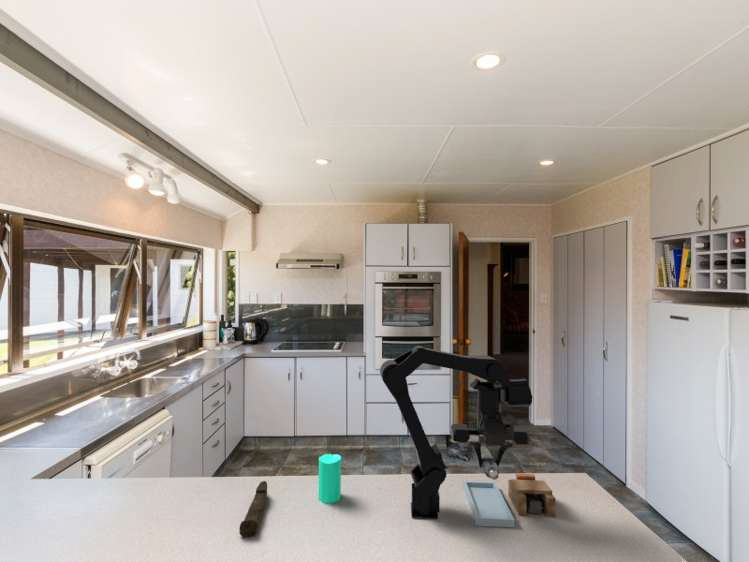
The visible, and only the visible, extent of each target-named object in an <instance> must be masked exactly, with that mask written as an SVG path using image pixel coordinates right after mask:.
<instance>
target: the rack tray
mask: <svg viewBox="0 0 749 562" xmlns="http://www.w3.org/2000/svg"><path fill="white" fill-rule="evenodd" d="M462 487H463V490H464V493H465V497H466V500H467V502H468V506H469V509H470V511H471V514H472V518H473V520H474V524H475V526H480V527H495V528H496V527H498V528H499V527H500V528H502V527H503V528H515V527H516V520H515V518H514V516H513V514H512V512H511V510H510V508H509V506H508V504H507V503H506V500H505V499H504V497H503V495H502V492H501V491H500V488H499V487H498V485H497V483H496V481H479V480H477V481H473V480H463V481H462Z"/></svg>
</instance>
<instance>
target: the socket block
mask: <svg viewBox="0 0 749 562" xmlns="http://www.w3.org/2000/svg"><path fill="white" fill-rule="evenodd" d="M507 485H508V486H507V487H508V491H507V492H508V494H507V495H508V496H507V497H508V498H509V500H510V503H511V504H512V506H513V508H514V509H515V512H516V513H517V515H518V516H527V507H526V496H525V494H524V493H534V494H536V495H537V496H538V498H539V499H540V501H541V510H543V512H544V513H545V515H546V516H547V517H551V518H552V517H556V497H555V495H553V490H552V489H551V487H550V486H549V485H548V484H547V482H546V481H545V480H539V479H538V480H537V479H535V480H516V478H515V479H511V478H510V479H508V484H507Z"/></svg>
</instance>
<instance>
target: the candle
mask: <svg viewBox="0 0 749 562" xmlns="http://www.w3.org/2000/svg"><path fill="white" fill-rule="evenodd" d="M341 480H342V457H341V455H339V454H337V453H336V454H331V453H329V454H328V453H325V454H324V455H322V456H319V458H318V491H317V492H318V500H319V501H320V502H321V503H323V504H334V503H336V502H339V501H340V499H341V493H342V490H341V488H342V487H341V486H342V484H341V483H342V481H341Z"/></svg>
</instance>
